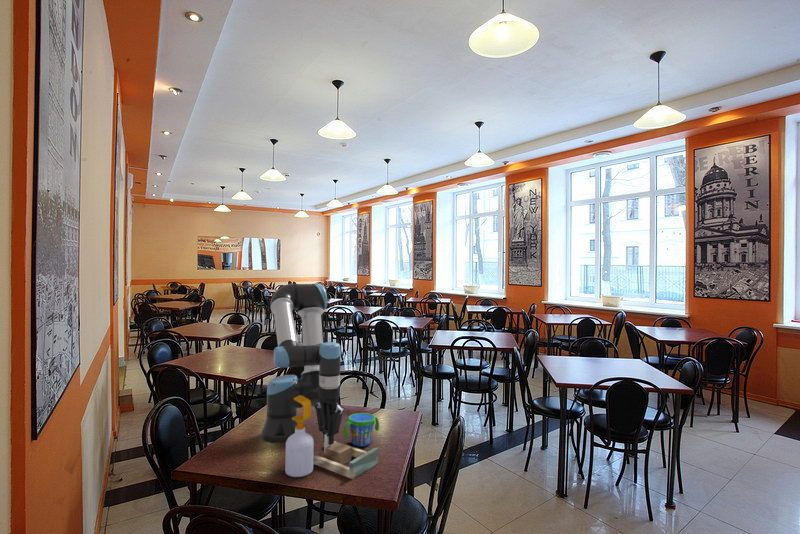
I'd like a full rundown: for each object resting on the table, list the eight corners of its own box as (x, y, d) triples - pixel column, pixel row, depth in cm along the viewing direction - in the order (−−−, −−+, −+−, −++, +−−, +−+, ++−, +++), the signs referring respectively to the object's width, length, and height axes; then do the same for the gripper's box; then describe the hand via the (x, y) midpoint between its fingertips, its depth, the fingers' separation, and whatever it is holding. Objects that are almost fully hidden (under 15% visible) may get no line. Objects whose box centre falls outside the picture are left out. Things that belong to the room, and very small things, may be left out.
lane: (300, 459, 145) (300, 444, 145) (328, 445, 156) (328, 432, 156) (352, 479, 131) (353, 463, 131) (378, 462, 143) (378, 448, 143)
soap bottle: (296, 462, 142) (297, 391, 142) (318, 467, 138) (319, 395, 139) (279, 474, 134) (281, 399, 134) (302, 480, 130) (304, 402, 130)
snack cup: (372, 434, 167) (372, 409, 168) (385, 443, 159) (386, 417, 159) (337, 442, 159) (337, 416, 159) (349, 453, 150) (349, 425, 150)
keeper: (324, 460, 144) (325, 447, 144) (336, 454, 149) (336, 442, 149) (339, 466, 140) (339, 453, 140) (351, 459, 145) (351, 447, 145)
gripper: (309, 385, 147) (307, 451, 147) (335, 391, 140) (334, 461, 139) (323, 381, 154) (322, 444, 153) (350, 387, 146) (349, 453, 146)
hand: (328, 452), depth 146 cm, fingers closed
